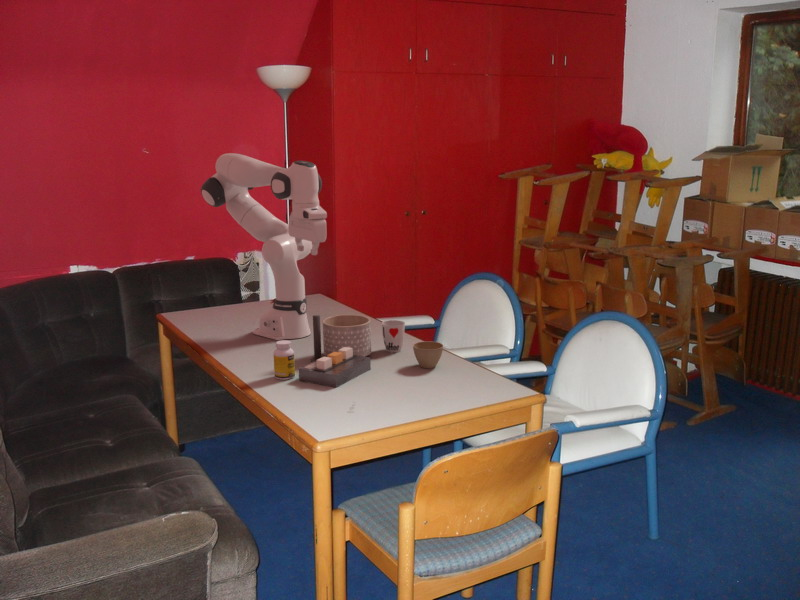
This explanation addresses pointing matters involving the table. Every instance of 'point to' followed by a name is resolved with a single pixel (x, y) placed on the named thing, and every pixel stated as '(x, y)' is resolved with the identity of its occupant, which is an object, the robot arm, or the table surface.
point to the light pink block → (324, 363)
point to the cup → (393, 335)
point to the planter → (347, 334)
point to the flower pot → (428, 353)
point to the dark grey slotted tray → (335, 371)
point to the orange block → (336, 357)
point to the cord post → (316, 338)
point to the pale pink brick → (346, 352)
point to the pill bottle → (284, 360)
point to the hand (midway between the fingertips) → (307, 252)
